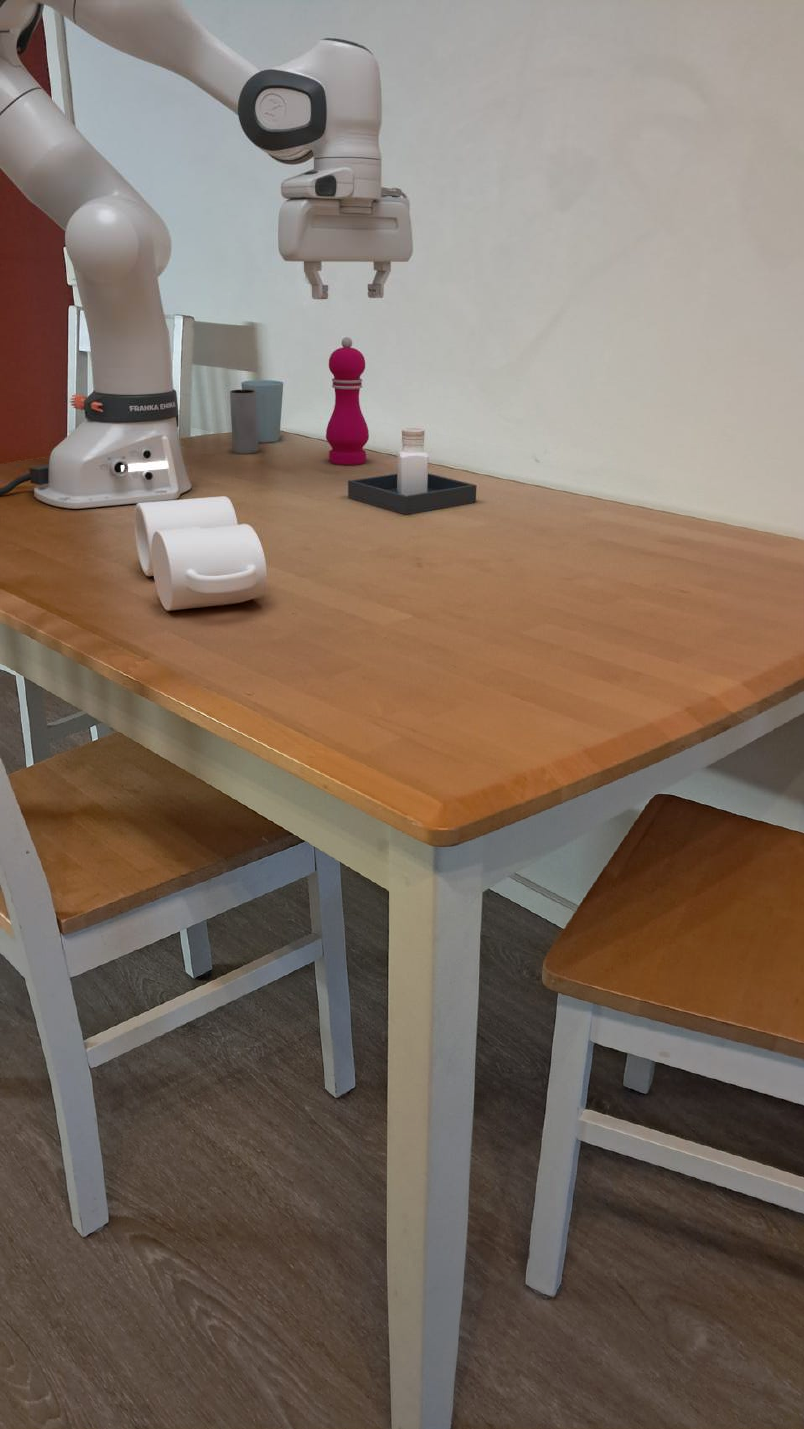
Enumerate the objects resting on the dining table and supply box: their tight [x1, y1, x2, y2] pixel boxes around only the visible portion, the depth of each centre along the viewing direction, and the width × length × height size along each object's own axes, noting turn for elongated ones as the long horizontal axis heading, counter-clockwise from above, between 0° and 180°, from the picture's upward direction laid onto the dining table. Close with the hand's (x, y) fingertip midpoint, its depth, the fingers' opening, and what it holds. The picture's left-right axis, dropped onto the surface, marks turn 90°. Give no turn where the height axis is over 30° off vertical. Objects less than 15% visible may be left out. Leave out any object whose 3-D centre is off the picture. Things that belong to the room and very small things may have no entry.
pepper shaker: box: [396, 427, 429, 496], centre depth 153 cm, size 4×4×10 cm
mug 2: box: [151, 523, 268, 611], centre depth 107 cm, size 12×9×8 cm
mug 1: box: [133, 495, 239, 577], centre depth 120 cm, size 12×10×8 cm
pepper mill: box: [325, 336, 370, 466], centre depth 177 cm, size 7×7×20 cm
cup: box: [240, 379, 284, 444], centre depth 197 cm, size 8×8×10 cm
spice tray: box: [347, 472, 478, 516], centre depth 154 cm, size 13×13×2 cm
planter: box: [229, 389, 260, 455], centre depth 186 cm, size 4×4×10 cm
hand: (348, 298), depth 145 cm, fingers open, 8 cm apart
